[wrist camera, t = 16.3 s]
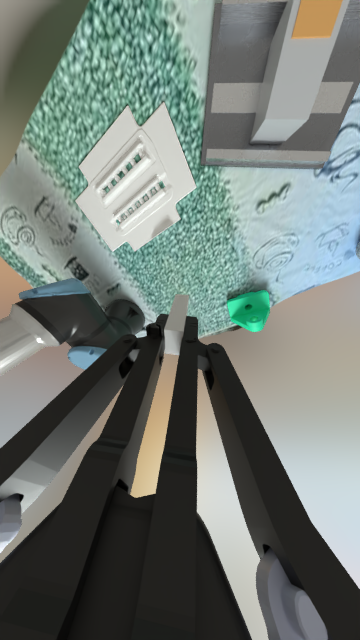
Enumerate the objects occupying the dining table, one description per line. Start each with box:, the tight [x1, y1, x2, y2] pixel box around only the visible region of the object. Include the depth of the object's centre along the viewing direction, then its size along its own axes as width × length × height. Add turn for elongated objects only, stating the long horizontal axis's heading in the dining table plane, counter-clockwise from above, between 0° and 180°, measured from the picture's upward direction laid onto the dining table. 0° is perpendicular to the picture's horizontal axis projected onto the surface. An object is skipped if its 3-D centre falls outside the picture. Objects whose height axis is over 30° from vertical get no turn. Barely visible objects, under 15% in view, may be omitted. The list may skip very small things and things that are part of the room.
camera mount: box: [227, 290, 270, 332], centre depth 43 cm, size 12×8×10 cm, turn 112°
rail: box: [201, 0, 360, 169], centre depth 24 cm, size 24×16×3 cm, turn 88°
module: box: [250, 0, 350, 144], centre depth 21 cm, size 6×10×8 cm, turn 178°
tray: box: [75, 102, 196, 251], centre depth 34 cm, size 20×28×4 cm
